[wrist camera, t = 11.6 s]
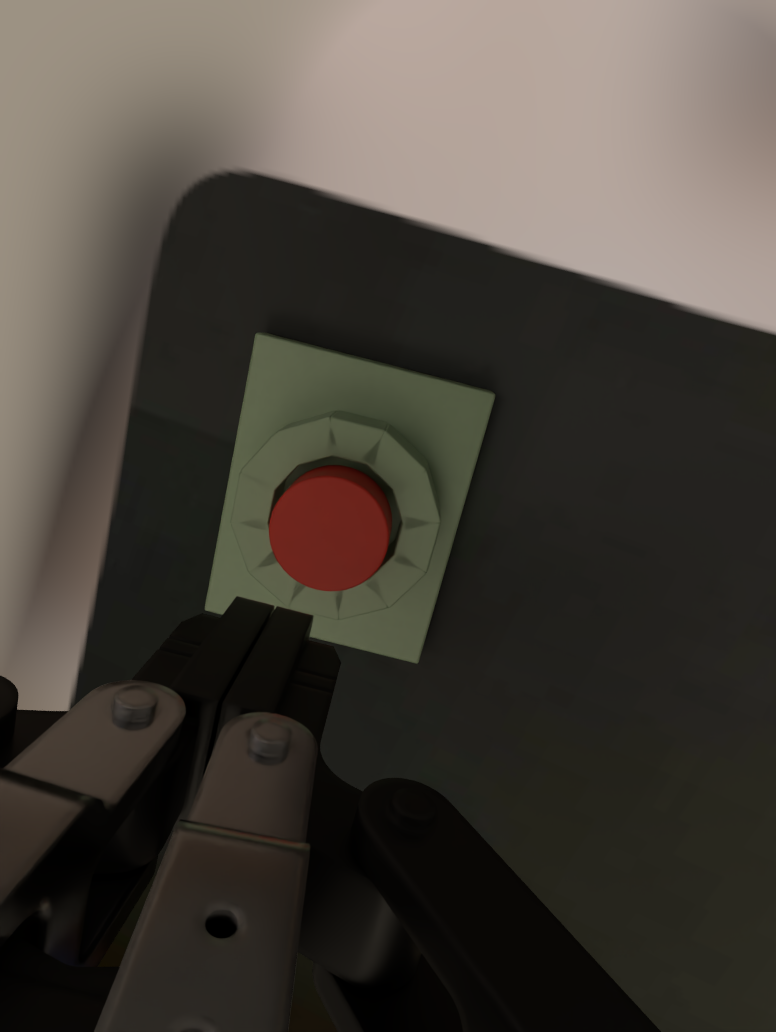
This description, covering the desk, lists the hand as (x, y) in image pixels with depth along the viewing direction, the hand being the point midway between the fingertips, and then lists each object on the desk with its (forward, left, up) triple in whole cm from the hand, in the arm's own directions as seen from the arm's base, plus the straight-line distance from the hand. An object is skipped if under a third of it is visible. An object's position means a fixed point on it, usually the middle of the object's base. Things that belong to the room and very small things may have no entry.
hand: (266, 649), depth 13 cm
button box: (0, 0, -12) cm, 12 cm away
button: (0, 0, -9) cm, 9 cm away
